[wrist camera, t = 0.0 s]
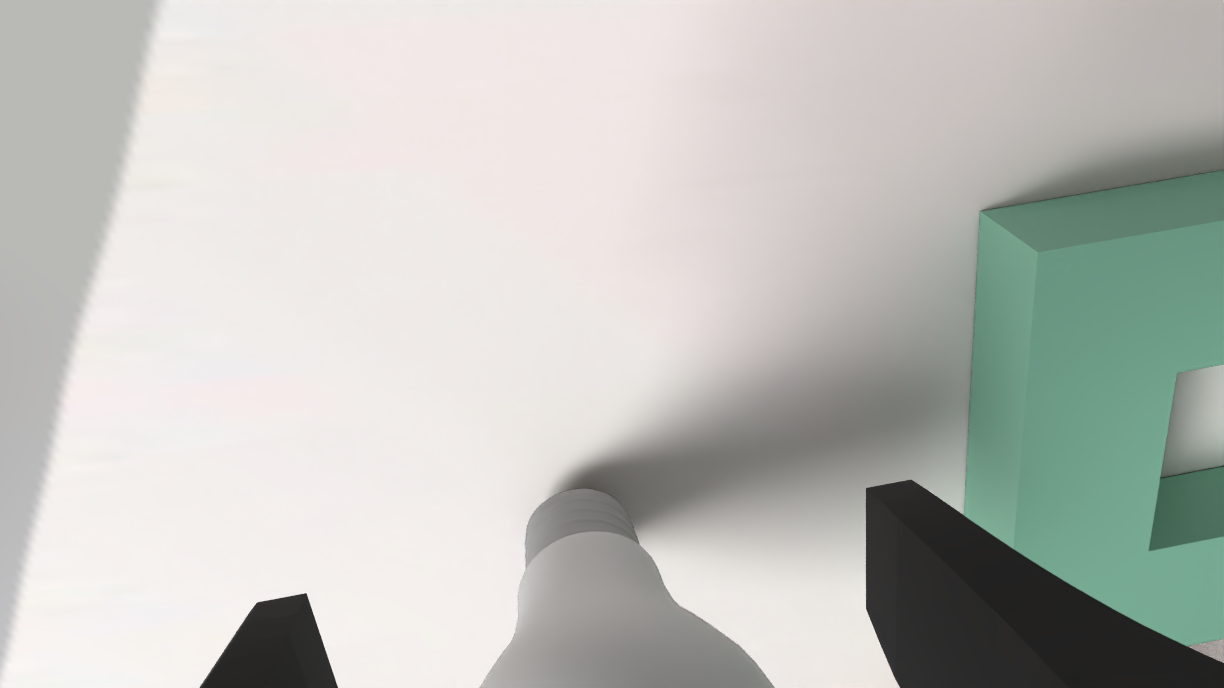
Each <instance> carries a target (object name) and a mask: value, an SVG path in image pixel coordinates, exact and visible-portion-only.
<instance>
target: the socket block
mask: <svg viewBox="0 0 1224 688" xmlns="http://www.w3.org/2000/svg"><path fill="white" fill-rule="evenodd" d="M1223 364H1224V170H1222V171H1216V172H1210V173H1204V174H1198V175H1192V176H1186V177H1180V178H1175V179H1169V180H1163V181H1157V182H1151V183H1145V184H1139V185H1133V186H1127V187H1121V188H1115V189H1110V190H1104V191H1098V192H1092V193H1086V194H1080V195H1074V196H1068V197H1062V198H1056V199H1050V200H1044V201H1039V202H1033V203H1027V204H1021V205H1015V206H1009V207H1003V208H997V209H991V210H985V211H980V222H979V241H978V260H977V278H976V297H975V316H974V335H973V354H972V372H971V391H970V410H969V429H968V448H967V466H966V485H965V504H964V516H965V517H967V518H968V519H970V520H971V521H973V522H974V523H976V524H977V525H979V526H980V527H982V528H983V529H984V530H986V531H987V532H989V533H990V534H992V535H993V536H995V537H996V538H998V539H999V540H1001V541H1002V542H1004V543H1005V544H1007V545H1008V546H1010V547H1011V548H1013V549H1014V550H1016V551H1018V552H1019V553H1021V554H1022V555H1024V556H1025V557H1027V558H1028V559H1030V560H1031V561H1033V562H1035V563H1036V564H1038V565H1039V566H1041V567H1043V568H1044V569H1046V570H1047V571H1049V572H1051V573H1052V574H1054V575H1056V576H1057V577H1059V578H1060V579H1062V580H1064V581H1065V582H1067V583H1069V584H1070V585H1072V586H1074V587H1075V588H1077V589H1079V590H1081V591H1083V592H1084V593H1086V594H1088V595H1090V596H1091V597H1093V598H1095V599H1097V600H1098V601H1100V602H1102V603H1104V604H1105V605H1107V606H1109V607H1111V608H1112V609H1114V610H1116V611H1118V612H1119V613H1121V614H1123V615H1125V616H1127V617H1129V618H1131V619H1133V620H1135V621H1136V622H1138V623H1140V624H1142V625H1144V626H1146V627H1148V628H1150V629H1152V630H1154V631H1156V632H1158V633H1160V634H1162V635H1165V636H1167V637H1169V638H1171V639H1173V640H1175V641H1177V642H1179V643H1181V644H1183V645H1185V646H1190V645H1195V644H1200V643H1205V642H1210V641H1214V640H1219V639H1224V467H1219V468H1213V469H1208V470H1203V471H1198V472H1193V473H1187V474H1182V475H1177V476H1172V477H1167V478H1161V479H1160V476H1161V470H1162V464H1163V458H1164V452H1165V445H1166V439H1167V433H1168V427H1169V421H1170V415H1171V408H1172V402H1173V396H1174V390H1175V384H1176V377H1177V373H1179V372H1185V371H1190V370H1196V369H1201V368H1207V367H1212V366H1217V365H1223Z"/></svg>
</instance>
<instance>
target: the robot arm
mask: <svg viewBox="0 0 1224 688" xmlns="http://www.w3.org/2000/svg"><path fill="white" fill-rule="evenodd" d="M866 610H867V612H868V615H869V617H870V620H871V622H872V625H873V627H874V629H875V632H876V634H877V637H878V639H879V642H880V644H881V647H882V649H883V651H884V654H885V656H886V658H887V661H888V663H889V665H890V668H891V670H892V672H893V675H894V677H895V679H896V681H897V683H898V684H899V686H900V688H1224V663H1222V662H1220V661H1218V660H1215V659H1213V658H1211V657H1208V656H1206V655H1204V654H1202V653H1200V652H1198V651H1195V650H1193V649H1191V648H1189V647H1187V646H1185V645H1183V644H1181V643H1179V642H1177V641H1175V640H1173V639H1171V638H1169V637H1167V636H1165V635H1162V634H1160V633H1158V632H1156V631H1154V630H1152V629H1150V628H1148V627H1146V626H1144V625H1142V624H1140V623H1138V622H1136V621H1135V620H1133V619H1131V618H1129V617H1127V616H1125V615H1123V614H1121V613H1119V612H1118V611H1116V610H1114V609H1112V608H1111V607H1109V606H1107V605H1105V604H1104V603H1102V602H1100V601H1098V600H1097V599H1095V598H1093V597H1091V596H1090V595H1088V594H1086V593H1084V592H1083V591H1081V590H1079V589H1077V588H1075V587H1074V586H1072V585H1070V584H1069V583H1067V582H1065V581H1064V580H1062V579H1060V578H1059V577H1057V576H1056V575H1054V574H1052V573H1051V572H1049V571H1047V570H1046V569H1044V568H1043V567H1041V566H1039V565H1038V564H1036V563H1035V562H1033V561H1031V560H1030V559H1028V558H1027V557H1025V556H1024V555H1022V554H1021V553H1019V552H1018V551H1016V550H1014V549H1013V548H1011V547H1010V546H1008V545H1007V544H1005V543H1004V542H1002V541H1001V540H999V539H998V538H996V537H995V536H993V535H992V534H990V533H989V532H987V531H986V530H984V529H983V528H982V527H980V526H979V525H977V524H976V523H974V522H973V521H971V520H970V519H968V518H967V517H965V516H964V515H963V514H961V513H960V512H958V511H957V510H955V509H954V508H952V507H951V506H950V505H948V504H947V503H945V502H944V501H942V500H941V499H939V498H938V497H937V496H935V495H934V494H932V493H931V492H929V491H928V490H926V489H925V488H923V487H922V486H920V485H919V484H917V483H916V482H914V481H913V480H907V481H901V482H896V483H891V484H886V485H880V486H875V487H870V488H866ZM200 688H338V687H337V684H336V681H335V678H334V675H333V672H332V669H331V666H330V663H329V660H328V657H327V654H326V651H325V648H324V645H323V642H322V639H321V636H320V633H319V630H318V627H317V624H316V621H315V618H314V615H313V612H312V609H311V606H310V603H309V600H308V597H307V594H306V593H305V594H300V595H295V596H290V597H284V598H279V599H274V600H268V601H263V602H258V603H256V605H255V606H254V607H253V609H252V610H251V611H250V613H249V614H248V616H247V617H246V619H245V620H244V622H243V623H242V625H241V626H240V628H239V629H238V631H237V632H236V634H235V635H234V637H233V638H232V640H231V641H230V643H229V644H228V646H227V647H226V649H225V650H224V652H223V653H222V655H221V656H220V658H219V659H218V661H217V662H216V664H215V665H214V667H213V668H212V670H211V671H210V673H209V674H208V676H207V677H206V679H205V680H204V682H203V683H202V685H201V686H200Z"/></svg>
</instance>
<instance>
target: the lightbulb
mask: <svg viewBox="0 0 1224 688" xmlns="http://www.w3.org/2000/svg"><path fill="white" fill-rule="evenodd" d="M525 549H526V553H525V558H526V570H525V572H524V575H523V577H522V580H521V582H520V585H519V592H518V619H517V625H516V630H515V634H514V636H513V639H512V641H511V643H510V644H509V645H508V646H507V648H506V649H505V650H504V651H503V653H502V654H501V656H500V657H499V658H498V660H497V661H496V663H495V664H494V666H493V667H492V669H491V670H490V672H489V673H488V675H487V676H486V678H485V680H484V681H483V683H482V685H481V686H480V688H774V686H773V685H772V684H771V682H770V681H769V679H768V678H767V677H766V675H765V674H764V673H763V671H762V670H761V669H760V667H759V666H758V665H757V663H756V662H755V661H754V660H753V659H752V658H751V657H750V656H749V655H748V654H747V653H746V652H745V651H744V650H743V649H742V648H741V647H740V646H739V645H738V644H736V643H735V642H734V641H732V640H731V639H730V638H728V637H727V636H725V635H724V634H723V633H721V632H720V631H719V630H717V629H716V628H714V627H713V626H712V625H710V624H709V623H707V622H706V621H704V620H703V619H701V618H699V617H698V616H696V615H695V614H693V613H692V612H690V611H688V610H686V609H684V608H683V607H681V606H679V605H678V604H677V603H676V602H675V601H674V600H673V598H672V597H671V595H670V594H669V592H668V590H667V589H666V587H665V585H664V583H663V580H662V578H661V575H660V573H659V570H658V568H657V566H656V564H655V562H654V561H653V559H652V557H651V556H650V555H649V554H648V553H647V552H646V551H645V550H644V549H643V548H642V547H641V546H640V544H639V541H638V537H637V536H636V533H635V530H634V527H633V525H632V523H631V521H630V519H629V516H628V514H627V512H626V510H625V508H624V507H623V506H622V505H621V503H620V502H619V501H618V500H616V499H615V498H613V497H612V496H610V495H609V494H606V493H604V492H601V491H597V490H593V489H574V490H568V491H565V492H561V493H559V494H557V495H554V496H552V497H550V498H549V499H547V500H546V501H545V502H543V503H542V504H541V505H540V506H539V507H538V508H537V509H536V510H535V511H534V513H533V515H532V516H531V518H530V520H529V522H528V525H527V529H526V539H525Z"/></svg>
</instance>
